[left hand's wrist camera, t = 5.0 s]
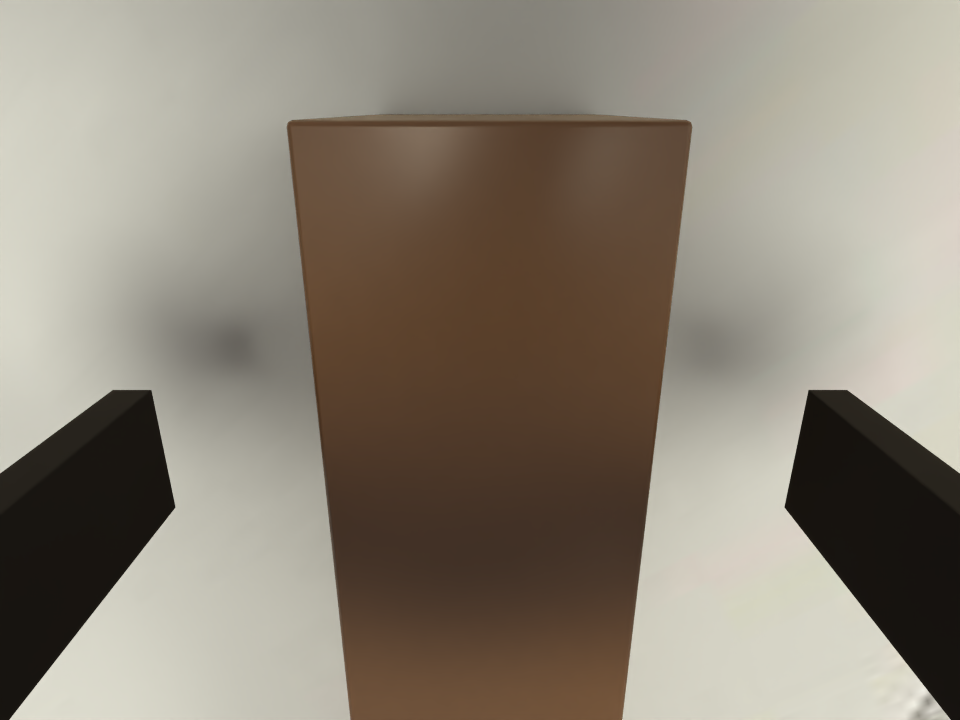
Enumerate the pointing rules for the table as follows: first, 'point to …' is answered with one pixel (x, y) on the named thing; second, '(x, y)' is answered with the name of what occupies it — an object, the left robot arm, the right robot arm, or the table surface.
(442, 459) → the beam
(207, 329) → the table surface
